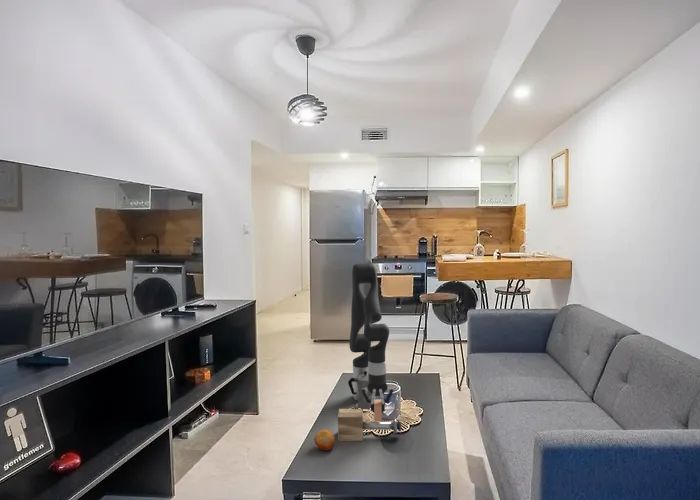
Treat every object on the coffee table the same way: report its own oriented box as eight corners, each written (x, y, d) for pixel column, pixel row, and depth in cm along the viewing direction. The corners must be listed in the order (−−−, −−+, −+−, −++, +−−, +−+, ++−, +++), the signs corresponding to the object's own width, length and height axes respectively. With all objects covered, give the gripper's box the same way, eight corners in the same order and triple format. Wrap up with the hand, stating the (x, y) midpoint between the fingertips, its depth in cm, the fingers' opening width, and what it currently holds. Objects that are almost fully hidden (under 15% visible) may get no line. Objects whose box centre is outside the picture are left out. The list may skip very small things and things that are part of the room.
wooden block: (339, 431, 187) (339, 408, 187) (363, 431, 187) (362, 408, 186) (338, 440, 179) (337, 417, 179) (362, 440, 179) (362, 417, 178)
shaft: (358, 428, 186) (357, 416, 185) (400, 429, 185) (400, 416, 184) (357, 435, 180) (357, 422, 180) (401, 435, 179) (401, 422, 179)
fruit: (338, 438, 178) (335, 427, 174) (333, 457, 172) (330, 445, 168) (320, 436, 180) (316, 425, 176) (314, 454, 174) (310, 442, 170)
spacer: (374, 414, 185) (374, 399, 185) (381, 414, 185) (381, 399, 185) (374, 421, 179) (374, 406, 178) (381, 421, 178) (381, 406, 178)
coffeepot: (375, 401, 218) (374, 366, 216) (382, 409, 209) (381, 372, 207) (346, 406, 213) (345, 370, 212) (351, 414, 204) (350, 376, 203)
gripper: (393, 368, 184) (394, 408, 185) (360, 368, 185) (361, 408, 186) (394, 374, 177) (395, 415, 178) (360, 374, 178) (360, 415, 178)
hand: (377, 411), depth 182 cm, fingers closed on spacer, 3 cm apart
